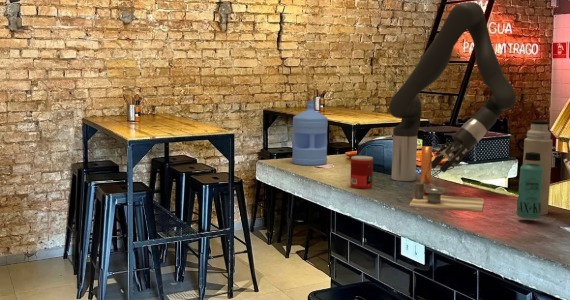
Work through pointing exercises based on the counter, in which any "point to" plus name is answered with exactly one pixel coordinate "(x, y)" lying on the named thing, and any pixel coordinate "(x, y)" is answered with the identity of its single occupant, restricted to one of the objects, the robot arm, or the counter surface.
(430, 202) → the hub board
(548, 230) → the counter surface
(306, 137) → the water jug
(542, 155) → the thermos bottle
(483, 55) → the robot arm
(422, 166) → the lever
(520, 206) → the beverage bottle
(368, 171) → the canned food
